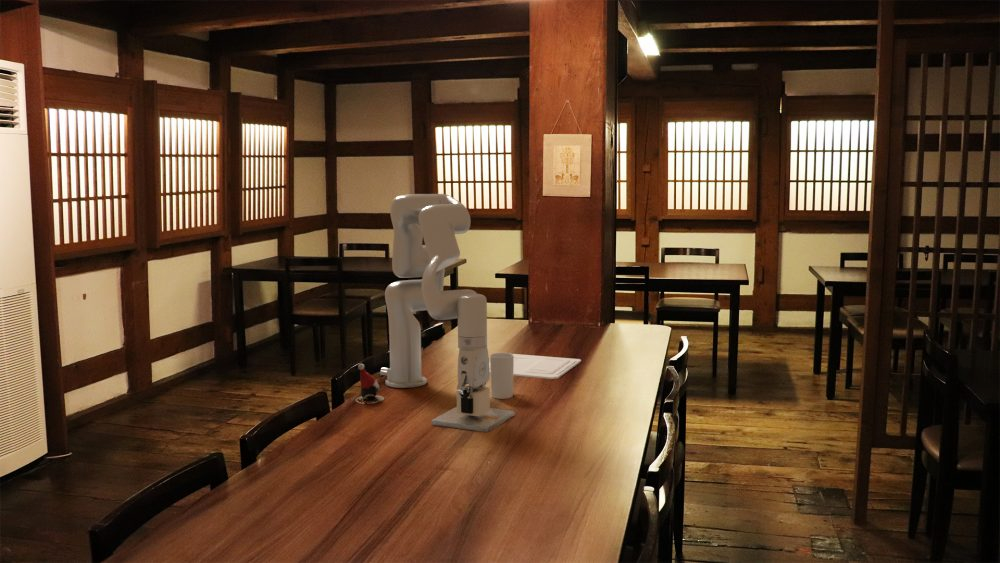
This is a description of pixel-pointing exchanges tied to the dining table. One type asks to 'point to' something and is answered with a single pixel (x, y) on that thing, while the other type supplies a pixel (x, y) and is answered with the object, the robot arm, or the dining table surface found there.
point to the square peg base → (473, 419)
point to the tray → (541, 366)
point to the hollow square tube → (477, 401)
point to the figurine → (368, 387)
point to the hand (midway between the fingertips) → (473, 408)
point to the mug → (501, 375)
